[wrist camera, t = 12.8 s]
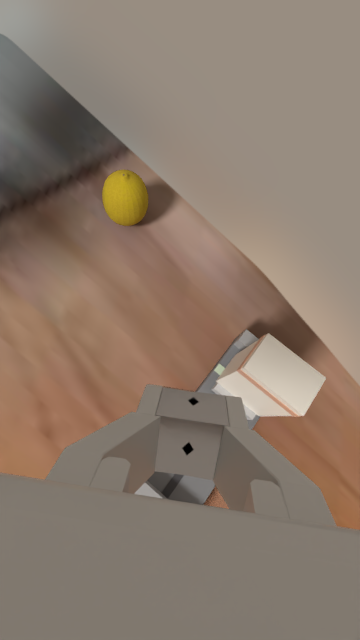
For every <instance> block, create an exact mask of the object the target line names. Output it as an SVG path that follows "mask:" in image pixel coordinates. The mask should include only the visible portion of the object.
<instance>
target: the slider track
mask: <svg viewBox="0 0 360 640" xmlns="http://www.w3.org/2000/svg"><path fill="white" fill-rule="evenodd" d="M257 340H259V339H258V338H257V337H256V336H254V335H253V334H252V333H250V332H249V331H248V330H247V329H246V330H245V331H244V332H243V333H241V334H240V335H239V336H238V337H237V338H235V340H234V341H233V342H232V344H231V345H230V346H229V348H228V349H227V350H226V352H225V353H224V354H223V356H222V357H221V358H220V360H219V361H218V362H217V364H216V365H215V366H214V368H213V369H212V370H211V371H210V373H209V374H208V375H207V377H206V378H205V379H204V381H203V382H202V383H201V385H200V386H199V387H198V389H197V390H196V391H195V392H201V393H210V394H216V393H215V392H213V391H212V390H211V389H212V388H213V386H214V385H215V383H216V380H217V379H218V377H219V376H220V375H221V373H222V372H223V371H224V369H225V368H226V367H227V365H228V364H229V363H230V361H231V360H232V358H233V357H234V356H235V355H236V354H237V353H239V352H241V351H242V350H244V349H245V348H247V347H248V346H250V345H251V344H253V343H254V342H256V341H257ZM259 418H260V416H258V415H255V417H254V418H253V420H247V422H248V426H249V430H252V428H253V427H254V425H255V424H256V422H257V421H258V419H259ZM214 487H215V484H214V482H213V480H208V479H203V478H197V477H192V476H186V475H180V474H172V473H164V472H156V471H154V474H153V475H152V476H151V477H150V478H149V479H148V480H147V481H146V482H145V483H144V484H143V485H142V486H141V487H140V488H139V489H138V490H137V491H136V492H135V493H134V494H138V495H144V496H150V497H156V498H163V499H169V500H175V501H181V502H188V503H194V504H200V505H203V504H204V502H205V501H206V499H207V498H208V496H209V495H210V493H211V491H212V490H213V488H214Z"/></svg>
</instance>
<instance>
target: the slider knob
mask: <svg viewBox="0 0 360 640" xmlns="http://www.w3.org/2000/svg"><path fill="white" fill-rule="evenodd" d="M325 379H326V377H324V376H323V375H322V374H320V373H319V372H318V371H317V370H315V369H314V368H313V367H311V366H310V365H309V364H308V363H306V362H305V361H304V360H302V359H301V358H300V357H299V356H297V355H296V354H295V353H293V352H292V351H291V350H290V349H288V348H287V347H286V346H284V345H283V344H282V343H281V342H279V341H278V340H277V339H275V338H274V337H273V336H272V335H270V334H269V333H268V334H266V335H263V336H262V337H261V338H260V339H259V340H257V341H256V342H254V343H253V344H251V345H250V346H248V347H247V348H245V349H244V350H242V351H241V352H239V353H237V354H236V355H235V356H234V357H233V358H232V360H231V361H230V363H229V364H228V365H227V367H226V368H225V369H224V371H223V372H222V373H221V375H220V376H219V377H218V379H217V380H216V383H215V385H214V386H213V388H212V389H211V390H212V391H213V392H215V393H216V394H218V395H225V396H235V397H241V398H242V401H243V405H244V409H245V413H246V418H247V420H253V418H254V417H255V415H258V416H293V417H299V416H304V415H305V413H306V411H307V410H308V408H309V406H310V405H311V403H312V401H313V399H314V398H315V396H316V394H317V393H318V391H319V389H320V388H321V386H322V384H323V383H324V381H325Z"/></svg>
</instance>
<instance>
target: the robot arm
mask: <svg viewBox="0 0 360 640" xmlns="http://www.w3.org/2000/svg"><path fill="white" fill-rule="evenodd" d="M154 471H156V472H164V473H172V474H180V475H186V476H192V477H197V478H203V479H208V480H213V482H214V484H215V486H216V487H217V489H218V491H219V492H220V494H221V496H222V497H223V499H224V501H225V502H226V504H227V505H228V507H229V509H225V508H219V507H213V506H206V505H200V504H194V503H188V502H181V501H175V500H169V499H163V498H156V497H150V496H144V495H138V494H134V493H135V492H136V491H137V490H138V489H139V488H140V487H141V486H142V485H143V484H144V483H145V482H146V481H147V480H148V479H149V478H150V477H151V476H152V475H153V474H154ZM0 640H360V530H356V529H350V528H344V527H338V526H336V524H335V522H334V519H333V517H332V515H331V513H330V510H329V508H328V506H327V504H326V501H325V499H324V497H323V494H322V492H321V490H320V488H319V487H318V486H317V485H316V484H314V483H313V482H312V481H311V480H310V479H309V478H308V477H306V476H305V475H304V474H303V473H302V472H301V471H300V470H298V469H297V468H296V467H295V466H294V465H293V464H292V463H291V462H289V461H288V460H287V459H286V458H285V457H284V456H283V455H281V454H280V453H279V452H278V451H277V450H276V449H275V448H274V447H272V446H271V445H270V444H269V443H268V442H267V441H266V440H264V439H263V438H262V437H261V436H260V435H259V434H258V433H257V432H255V431H254V430H249V426H248V422H247V418H246V413H245V409H244V405H243V401H242V398H241V397H235V396H225V395H218V394H210V393H201V392H194V391H189V390H183V389H177V388H171V387H165V386H160V385H152V384H147V385H146V387H145V390H144V392H143V395H142V398H141V400H140V403H139V406H138V409H137V411H136V412H130V413H129V414H127V415H125V416H123V417H121V418H119V419H118V420H116V421H114V422H112V423H110V424H108V425H107V426H105V427H103V428H101V429H99V430H97V431H95V432H94V433H92V434H90V435H88V436H86V437H84V438H83V439H81V440H79V441H77V442H75V443H73V444H72V445H70V446H68V447H66V448H65V449H64V451H63V452H62V454H61V455H60V457H59V458H58V460H57V462H56V463H55V465H54V466H53V468H52V469H51V471H50V473H49V474H48V476H47V477H46V479H45V480H44V479H38V478H31V477H25V476H19V475H13V474H7V473H0Z"/></svg>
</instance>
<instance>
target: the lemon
mask: <svg viewBox="0 0 360 640" xmlns="http://www.w3.org/2000/svg"><path fill="white" fill-rule="evenodd" d="M102 198H103V205H104V208H105V211H106V213H107V214H108V216H109V217H110V218H111V219H112V220H113V221H114V222H116V223H117V224H120V225H123V226H131V225H134V224H137V223H138V222H139V221H141V220H142V218H143V217H144V216H145V214H146V211H147V208H148V193H147V189H146V186H145V184H144V182H143V181H142V179H141V178H140V177H139V176H138V175H137V174H136V173H134V172H132V171H129V170H118V171H115V172H113V173H112V174H111V175H109V176H108V178H107V179H106V181H105V183H104V187H103V192H102Z"/></svg>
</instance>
